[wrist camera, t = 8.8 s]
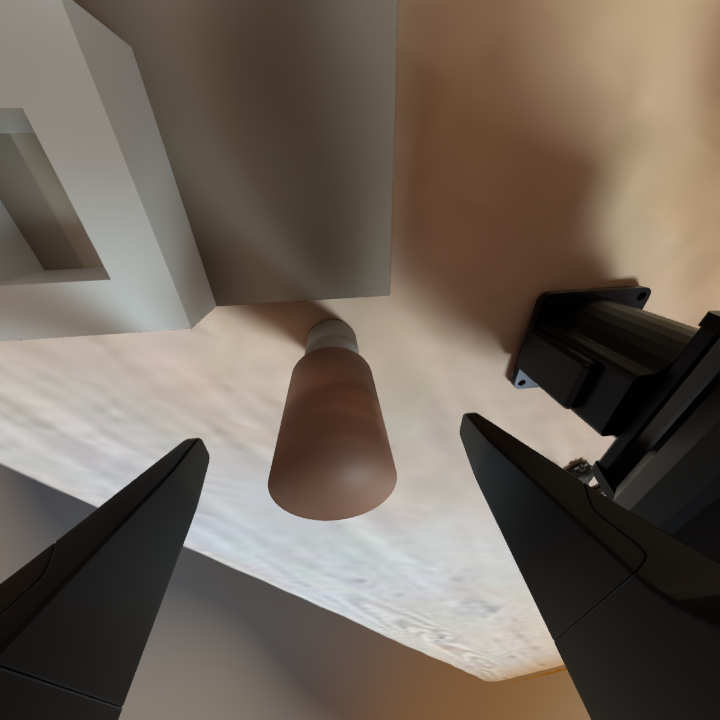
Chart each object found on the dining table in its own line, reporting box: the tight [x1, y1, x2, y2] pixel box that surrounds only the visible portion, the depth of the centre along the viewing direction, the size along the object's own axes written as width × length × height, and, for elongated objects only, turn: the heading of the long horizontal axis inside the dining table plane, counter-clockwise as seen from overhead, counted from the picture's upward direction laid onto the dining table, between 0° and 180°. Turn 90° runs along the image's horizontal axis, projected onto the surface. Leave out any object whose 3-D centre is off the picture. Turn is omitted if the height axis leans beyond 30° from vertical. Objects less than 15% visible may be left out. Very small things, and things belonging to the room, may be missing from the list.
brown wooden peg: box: [268, 319, 397, 521], centre depth 11 cm, size 4×4×9 cm
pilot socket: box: [0, 0, 216, 341], centre depth 8 cm, size 8×8×2 cm
